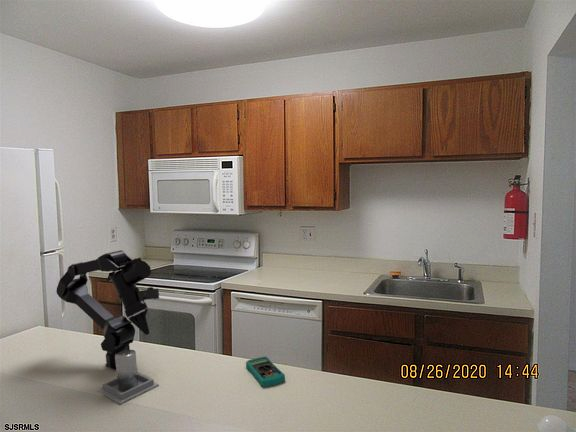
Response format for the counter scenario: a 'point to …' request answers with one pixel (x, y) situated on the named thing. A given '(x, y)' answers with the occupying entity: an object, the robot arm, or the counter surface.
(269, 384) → the digital multimeter
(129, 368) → the metal cylinder
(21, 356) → the counter surface
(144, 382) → the holder
